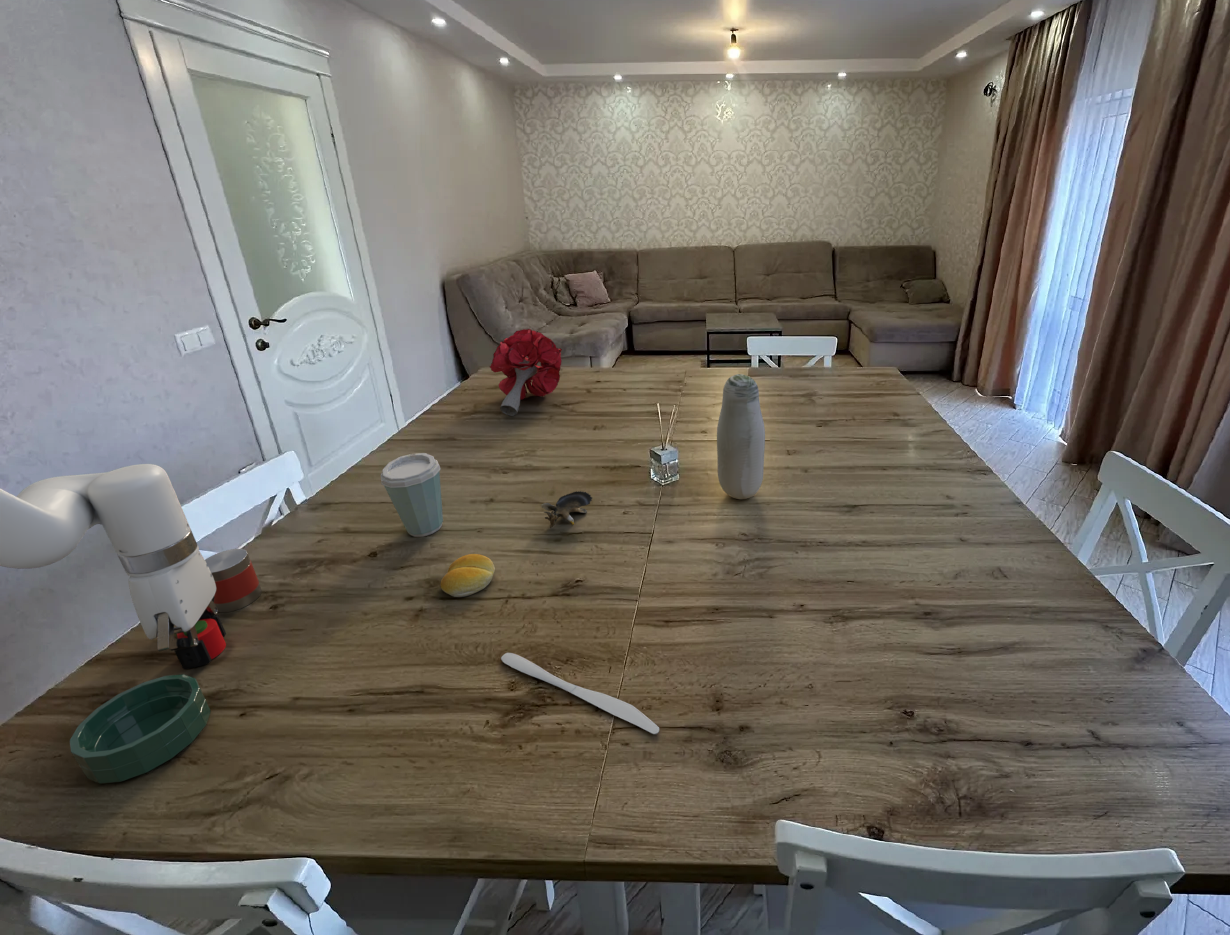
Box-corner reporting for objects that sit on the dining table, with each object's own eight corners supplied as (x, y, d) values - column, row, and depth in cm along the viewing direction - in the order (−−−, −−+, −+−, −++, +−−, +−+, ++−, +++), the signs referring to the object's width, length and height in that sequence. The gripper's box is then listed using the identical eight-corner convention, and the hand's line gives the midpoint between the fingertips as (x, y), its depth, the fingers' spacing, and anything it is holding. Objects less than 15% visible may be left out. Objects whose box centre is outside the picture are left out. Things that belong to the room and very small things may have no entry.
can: (204, 608, 92) (186, 569, 89) (244, 583, 98) (229, 545, 95) (231, 616, 90) (215, 576, 87) (271, 590, 96) (257, 552, 93)
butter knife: (513, 645, 83) (497, 658, 81) (666, 720, 71) (653, 738, 69) (513, 648, 83) (498, 661, 81) (666, 724, 72) (653, 742, 69)
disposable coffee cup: (448, 538, 110) (434, 472, 104) (388, 548, 107) (370, 480, 101) (455, 510, 119) (442, 448, 114) (400, 519, 116) (384, 455, 111)
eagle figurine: (567, 533, 109) (600, 506, 115) (546, 503, 108) (580, 478, 114) (552, 537, 115) (584, 511, 121) (532, 509, 114) (565, 485, 120)
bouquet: (556, 431, 174) (578, 362, 192) (526, 382, 156) (554, 310, 174) (493, 432, 177) (521, 364, 196) (457, 384, 159) (491, 314, 178)
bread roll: (435, 600, 93) (430, 581, 92) (456, 566, 102) (452, 548, 100) (484, 598, 94) (480, 579, 92) (501, 565, 102) (498, 547, 100)
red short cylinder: (178, 660, 82) (165, 634, 80) (212, 638, 86) (201, 612, 84) (200, 667, 81) (187, 641, 79) (233, 644, 85) (222, 618, 83)
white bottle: (771, 499, 122) (775, 379, 112) (730, 510, 118) (730, 387, 108) (749, 479, 131) (750, 366, 120) (710, 489, 126) (708, 373, 116)
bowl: (64, 770, 66) (46, 741, 65) (173, 693, 77) (160, 666, 75) (127, 798, 63) (109, 768, 61) (232, 714, 73) (220, 686, 72)
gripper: (156, 524, 83) (200, 620, 89) (86, 597, 68) (144, 705, 75) (218, 514, 85) (255, 608, 92) (163, 582, 70) (212, 688, 77)
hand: (205, 650), depth 83 cm, fingers closed on red short cylinder, 4 cm apart
